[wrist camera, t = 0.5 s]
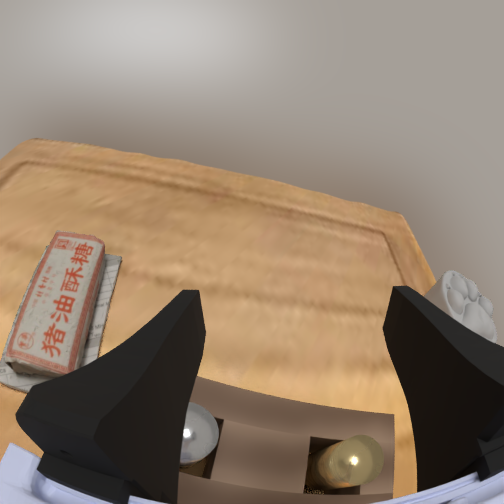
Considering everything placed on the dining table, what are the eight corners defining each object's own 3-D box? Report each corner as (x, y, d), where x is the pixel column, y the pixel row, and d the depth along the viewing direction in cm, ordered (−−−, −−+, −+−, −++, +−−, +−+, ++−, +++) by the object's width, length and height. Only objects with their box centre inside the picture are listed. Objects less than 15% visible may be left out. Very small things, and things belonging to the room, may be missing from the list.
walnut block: (350, 522, 18) (390, 521, 14) (101, 477, 17) (83, 474, 13) (358, 432, 25) (394, 414, 21) (135, 380, 24) (130, 352, 20)
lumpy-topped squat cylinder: (424, 371, 32) (469, 335, 27) (403, 294, 42) (436, 255, 36) (469, 371, 34) (510, 339, 28) (447, 304, 43) (479, 269, 37)
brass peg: (339, 491, 18) (382, 483, 14) (298, 489, 17) (334, 484, 14) (343, 452, 20) (384, 436, 16) (303, 448, 20) (339, 432, 16)
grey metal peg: (200, 472, 17) (211, 467, 13) (151, 458, 17) (146, 448, 13) (211, 430, 20) (224, 411, 16) (164, 416, 20) (164, 393, 16)
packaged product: (42, 221, 28) (121, 232, 31) (50, 251, 32) (122, 262, 34) (-22, 365, 16) (78, 396, 18) (1, 386, 19) (91, 412, 21)
